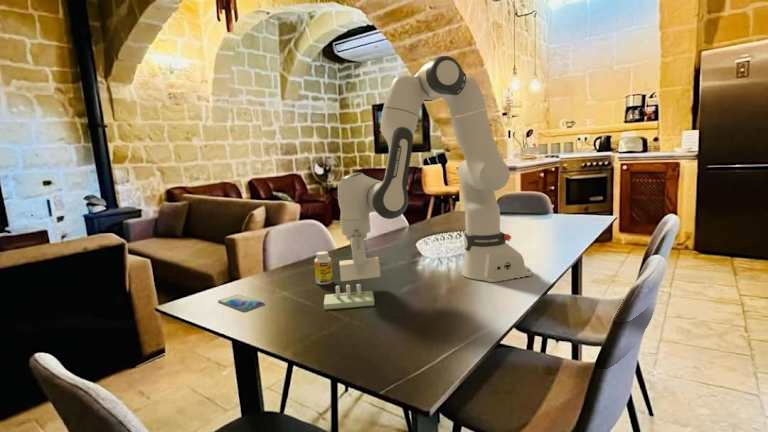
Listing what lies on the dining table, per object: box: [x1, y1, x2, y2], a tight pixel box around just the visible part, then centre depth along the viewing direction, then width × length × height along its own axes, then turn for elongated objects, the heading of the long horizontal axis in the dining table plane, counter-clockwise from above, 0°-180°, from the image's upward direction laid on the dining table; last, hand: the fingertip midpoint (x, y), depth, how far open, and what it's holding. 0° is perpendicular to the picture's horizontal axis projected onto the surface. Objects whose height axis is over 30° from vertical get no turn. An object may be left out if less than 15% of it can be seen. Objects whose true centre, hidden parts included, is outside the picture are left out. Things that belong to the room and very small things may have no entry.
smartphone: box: [217, 294, 266, 313], centre depth 126 cm, size 7×1×15 cm
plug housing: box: [338, 256, 381, 282], centre depth 130 cm, size 12×5×5 cm, turn 96°
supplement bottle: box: [313, 250, 333, 286], centre depth 141 cm, size 6×6×10 cm
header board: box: [323, 283, 375, 311], centre depth 121 cm, size 14×8×5 cm, turn 95°
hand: (360, 271), depth 130 cm, fingers closed on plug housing, 5 cm apart
